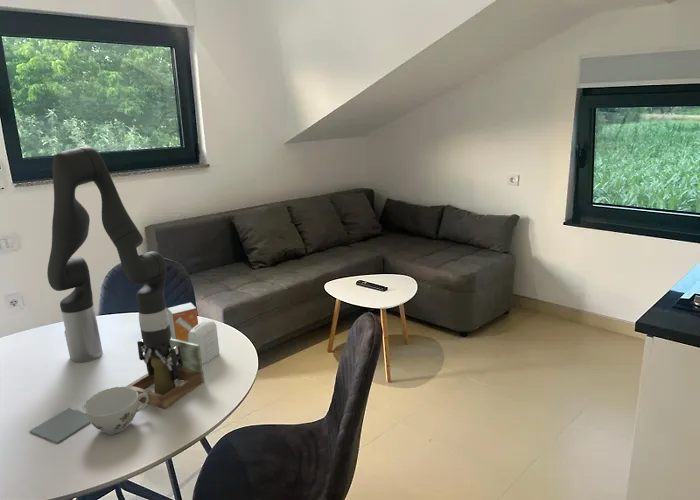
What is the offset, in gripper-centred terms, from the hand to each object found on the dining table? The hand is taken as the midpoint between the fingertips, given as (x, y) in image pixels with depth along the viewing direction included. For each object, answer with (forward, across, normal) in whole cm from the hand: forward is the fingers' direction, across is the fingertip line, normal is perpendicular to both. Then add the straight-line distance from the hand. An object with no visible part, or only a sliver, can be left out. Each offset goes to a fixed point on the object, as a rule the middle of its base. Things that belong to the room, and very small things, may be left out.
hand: (163, 377), depth 146 cm
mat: (+4, -12, -23) cm, 26 cm away
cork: (+5, 0, 0) cm, 5 cm away
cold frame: (+4, 0, 0) cm, 4 cm away
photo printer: (+5, -2, +19) cm, 20 cm away
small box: (+4, -16, +25) cm, 30 cm away
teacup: (+5, +2, -17) cm, 17 cm away
